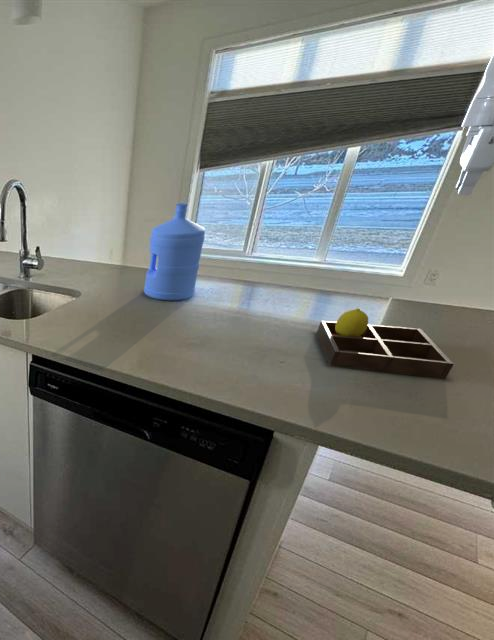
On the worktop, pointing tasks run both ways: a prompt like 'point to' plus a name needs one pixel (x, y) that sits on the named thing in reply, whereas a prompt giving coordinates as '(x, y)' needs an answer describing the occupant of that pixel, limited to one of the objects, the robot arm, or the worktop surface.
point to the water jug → (174, 257)
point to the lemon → (352, 323)
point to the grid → (385, 351)
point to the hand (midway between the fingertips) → (462, 192)
